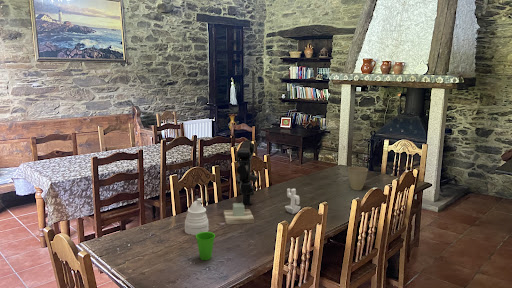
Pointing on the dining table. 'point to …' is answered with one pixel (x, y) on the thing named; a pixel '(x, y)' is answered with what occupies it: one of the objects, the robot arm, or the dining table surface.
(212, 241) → the cup
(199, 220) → the honey pot
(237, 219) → the birch base
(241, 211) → the sage cube
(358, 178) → the plant pot
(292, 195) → the figurine
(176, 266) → the dining table surface
